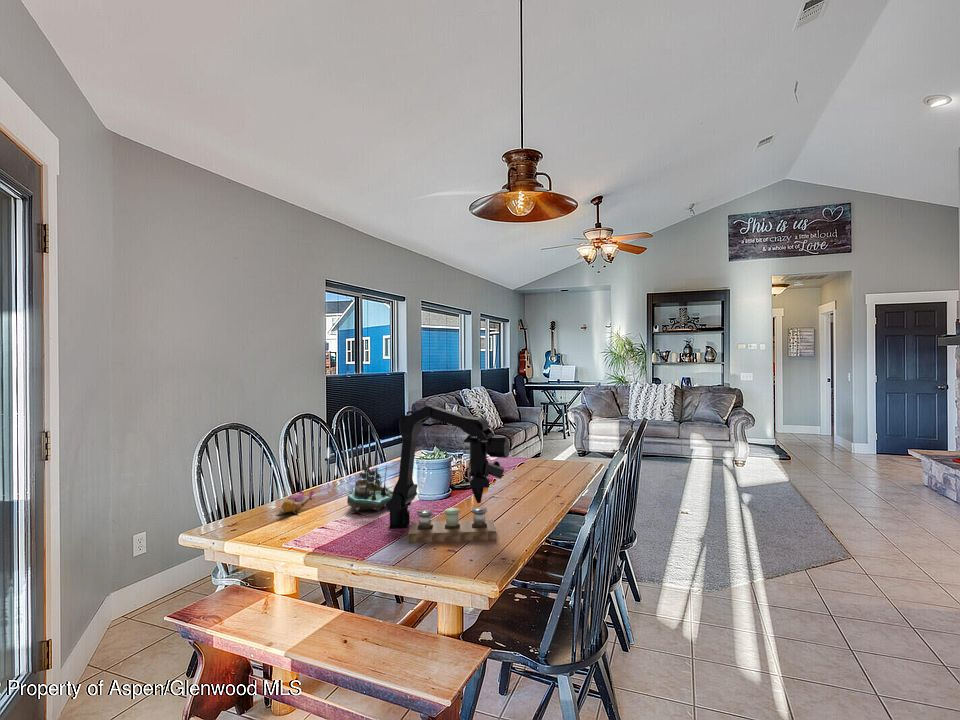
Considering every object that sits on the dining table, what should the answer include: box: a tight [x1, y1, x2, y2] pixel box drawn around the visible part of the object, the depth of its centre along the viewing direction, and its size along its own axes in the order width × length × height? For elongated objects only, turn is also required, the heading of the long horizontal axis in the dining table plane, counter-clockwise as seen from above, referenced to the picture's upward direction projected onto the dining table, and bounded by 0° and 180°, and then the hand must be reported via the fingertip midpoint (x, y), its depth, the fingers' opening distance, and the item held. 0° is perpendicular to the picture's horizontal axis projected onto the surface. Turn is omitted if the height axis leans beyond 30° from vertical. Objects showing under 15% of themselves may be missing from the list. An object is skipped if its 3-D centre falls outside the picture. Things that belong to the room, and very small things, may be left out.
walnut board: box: [407, 519, 497, 544], centre depth 176 cm, size 28×12×3 cm, turn 92°
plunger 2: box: [471, 506, 488, 525], centre depth 176 cm, size 5×5×5 cm
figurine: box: [275, 489, 314, 516], centre depth 212 cm, size 12×7×30 cm
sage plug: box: [444, 507, 461, 526], centre depth 176 cm, size 5×5×5 cm
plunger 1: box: [416, 509, 433, 528], centre depth 175 cm, size 5×5×5 cm
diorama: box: [346, 463, 393, 512], centre depth 213 cm, size 19×25×19 cm
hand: (478, 502), depth 176 cm, fingers closed
